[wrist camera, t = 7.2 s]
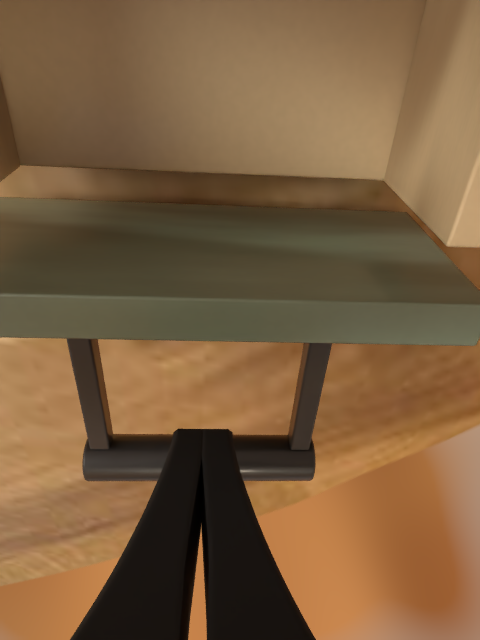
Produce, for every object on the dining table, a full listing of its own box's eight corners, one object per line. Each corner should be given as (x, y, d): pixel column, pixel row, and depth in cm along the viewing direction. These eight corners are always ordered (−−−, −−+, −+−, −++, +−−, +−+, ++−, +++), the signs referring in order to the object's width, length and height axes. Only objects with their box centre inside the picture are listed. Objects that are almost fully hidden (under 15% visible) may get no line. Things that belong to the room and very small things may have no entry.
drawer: (362, 371, 19) (410, 491, 14) (40, 366, 18) (-23, 493, 13) (593, -454, 8) (1163, -1159, 3) (-209, -565, 7) (-1102, -1769, 2)
